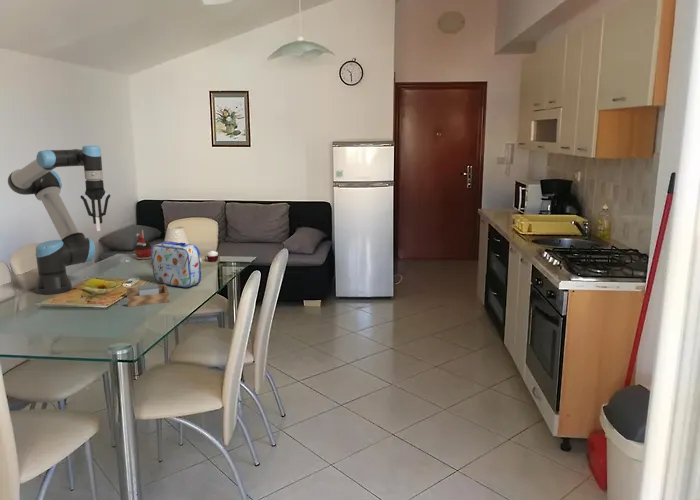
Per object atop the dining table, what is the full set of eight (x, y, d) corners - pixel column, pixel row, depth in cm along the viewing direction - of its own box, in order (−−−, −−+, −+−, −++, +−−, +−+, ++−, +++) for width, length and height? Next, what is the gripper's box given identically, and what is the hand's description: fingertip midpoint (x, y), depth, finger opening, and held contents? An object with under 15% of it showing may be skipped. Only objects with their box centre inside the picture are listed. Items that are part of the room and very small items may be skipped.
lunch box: (207, 285, 275) (204, 241, 271) (192, 290, 266) (189, 245, 262) (166, 279, 288) (163, 236, 284) (150, 283, 279) (147, 240, 275)
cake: (156, 258, 338) (154, 228, 334) (143, 260, 330) (141, 230, 327) (145, 256, 344) (142, 227, 340) (132, 259, 336) (129, 229, 332)
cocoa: (204, 263, 325) (202, 243, 322) (206, 260, 331) (204, 240, 328) (221, 262, 326) (219, 242, 323) (223, 259, 332) (220, 239, 329)
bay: (127, 306, 242) (126, 297, 241) (127, 296, 257) (126, 288, 256) (169, 302, 248) (168, 293, 247) (166, 292, 263) (165, 284, 262)
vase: (189, 273, 301) (186, 230, 296) (157, 273, 301) (153, 230, 296) (198, 265, 318) (196, 225, 313) (168, 265, 318) (165, 225, 313)
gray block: (140, 302, 249) (139, 289, 248) (139, 298, 254) (138, 285, 253) (159, 300, 252) (158, 287, 251) (158, 296, 257) (157, 283, 256)
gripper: (77, 180, 252) (82, 232, 257) (109, 180, 256) (113, 231, 261) (79, 179, 259) (83, 229, 264) (109, 178, 263) (113, 228, 268)
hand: (98, 230), depth 262 cm, fingers closed
